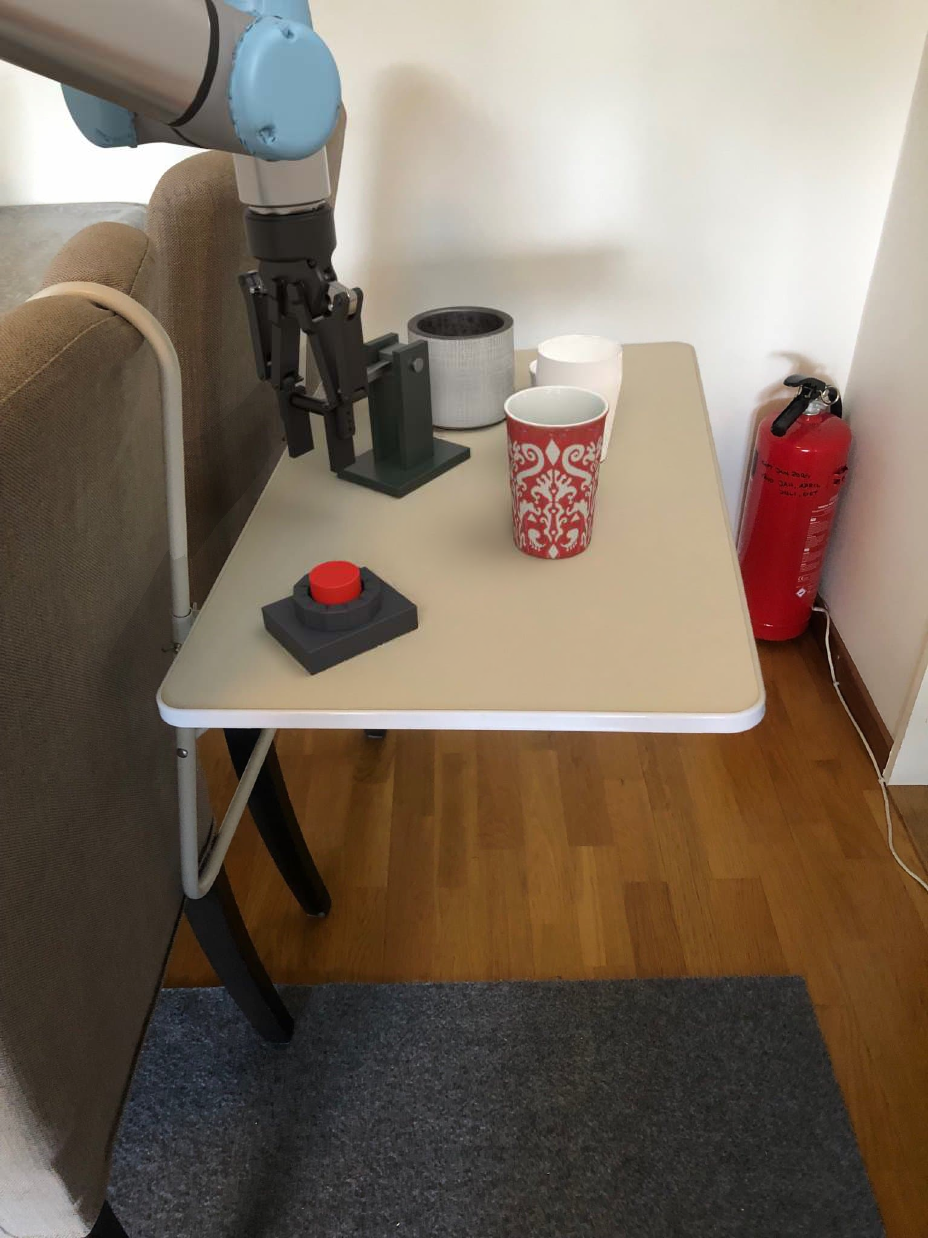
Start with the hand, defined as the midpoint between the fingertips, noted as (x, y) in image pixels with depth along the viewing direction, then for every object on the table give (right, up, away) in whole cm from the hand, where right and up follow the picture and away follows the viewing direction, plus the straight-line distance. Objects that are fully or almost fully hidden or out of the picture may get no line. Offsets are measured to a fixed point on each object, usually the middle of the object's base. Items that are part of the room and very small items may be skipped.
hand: (322, 459), depth 90 cm
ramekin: (+26, +12, +25) cm, 38 cm away
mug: (+22, -7, -2) cm, 24 cm away
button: (+4, -13, -16) cm, 21 cm away
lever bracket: (+7, +1, +11) cm, 13 cm away
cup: (+26, +2, +12) cm, 29 cm away
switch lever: (+4, +7, +1) cm, 8 cm away
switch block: (+4, -16, -14) cm, 22 cm away
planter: (+14, +9, +23) cm, 28 cm away
